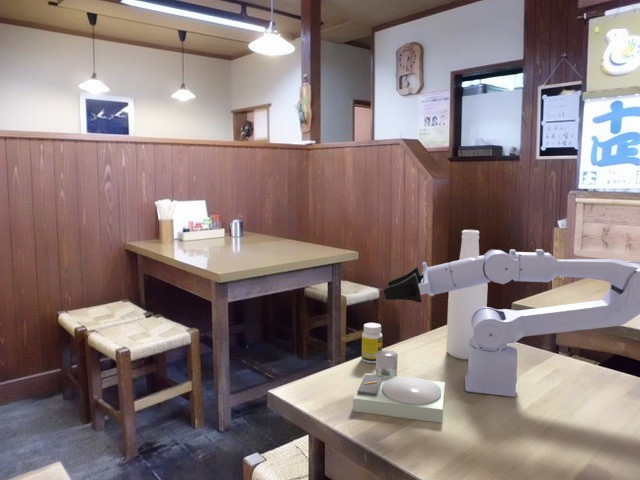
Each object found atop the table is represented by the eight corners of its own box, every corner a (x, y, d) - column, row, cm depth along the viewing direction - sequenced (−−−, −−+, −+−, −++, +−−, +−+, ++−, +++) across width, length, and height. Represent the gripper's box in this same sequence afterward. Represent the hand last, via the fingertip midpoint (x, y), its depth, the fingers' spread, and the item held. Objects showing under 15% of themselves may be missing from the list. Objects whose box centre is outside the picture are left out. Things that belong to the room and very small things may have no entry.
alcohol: (483, 349, 126) (489, 229, 122) (484, 362, 118) (491, 233, 114) (446, 346, 129) (451, 227, 124) (445, 358, 120) (450, 232, 116)
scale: (444, 394, 101) (445, 378, 101) (442, 422, 90) (442, 405, 89) (364, 384, 106) (365, 369, 105) (352, 411, 94) (353, 394, 94)
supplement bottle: (380, 364, 116) (381, 329, 115) (360, 363, 117) (360, 327, 116) (382, 357, 121) (383, 322, 120) (362, 355, 122) (363, 321, 121)
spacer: (398, 378, 109) (398, 351, 108) (395, 386, 105) (396, 358, 104) (377, 376, 110) (378, 349, 109) (374, 384, 106) (374, 356, 105)
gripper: (447, 252, 110) (386, 266, 114) (446, 262, 96) (377, 278, 100) (455, 284, 111) (394, 297, 114) (456, 298, 97) (386, 312, 100)
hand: (387, 290), depth 107 cm, fingers open, 7 cm apart
